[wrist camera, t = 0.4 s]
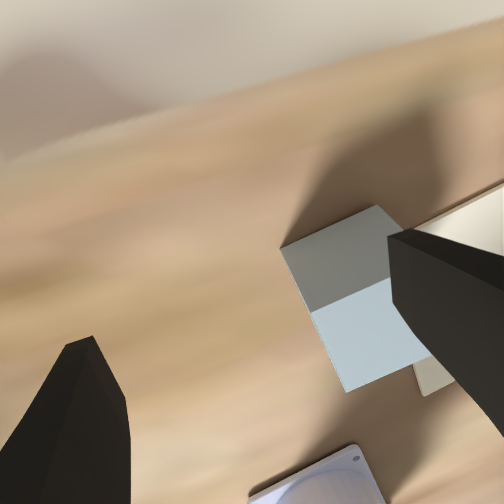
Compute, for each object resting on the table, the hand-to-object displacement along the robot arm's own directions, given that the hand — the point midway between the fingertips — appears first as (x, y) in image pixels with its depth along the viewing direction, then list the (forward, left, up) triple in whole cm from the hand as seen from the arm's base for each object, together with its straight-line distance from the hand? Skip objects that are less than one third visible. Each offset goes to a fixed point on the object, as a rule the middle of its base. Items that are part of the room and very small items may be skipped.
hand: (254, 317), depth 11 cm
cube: (-7, -5, -10) cm, 13 cm away
